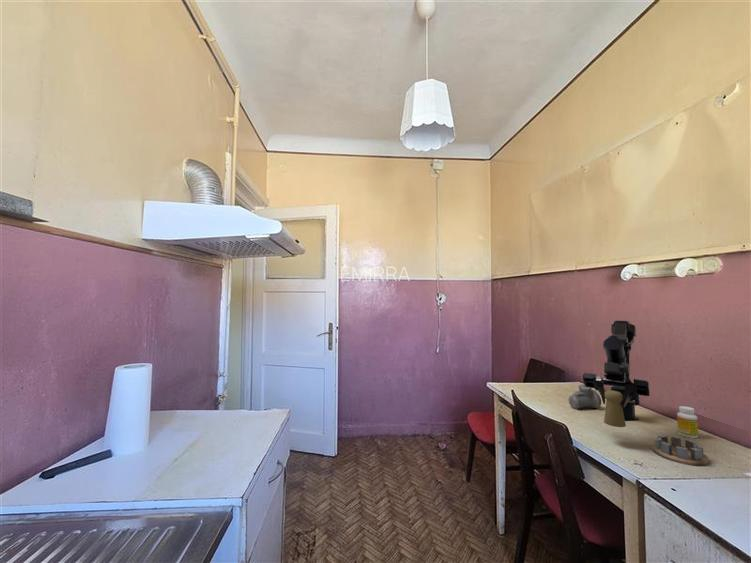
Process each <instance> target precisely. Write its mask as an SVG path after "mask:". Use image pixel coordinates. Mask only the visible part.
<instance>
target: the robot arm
mask: <svg viewBox="0 0 751 563" xmlns="http://www.w3.org/2000/svg"><path fill="white" fill-rule="evenodd" d="M610 326H611V328H610V331H611V332H610V333H611V335H608V336H607V338H606V339H605V340H603V343H602V344H603V345H602V346H603V350H604V353H605V355H606V362H604V363H603V364H604V365H603V366H604V367H603V369H604V372H603V376H604V378H602V377H601V376H597V374H596V373H591V372H584V373H583V374H582V380H583V384H584V385H585V386H586V387H590V388H592V389H594V390H595V391H598V394H599V396H600V398H601V402H602V403H603V405H606V398H605V396H604V394H605V392H606V390H605V387H604V386H609V387H610V390H613V391H618V392H620V393H621V394H622V395H623V400H622V402H621V404H622V409H623V414H624V419H625V421H636V420H637V421H638V420H639V417H636V409H635V407H636V406H640V405H641V404H640V396H645V397H649V396H651V395H650V394H651V393H650V382H649V381H648V380H646V379H639V378H633V381H632V380H631V350H632V349H633V344H634V342H635V337H637V328H636V325H634V324H632V323H630V321H629V320H628V321H627V320H614V321H613V323H612V324H611V325H610Z"/></svg>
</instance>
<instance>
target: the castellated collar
mask: <svg viewBox="0 0 751 563" xmlns="http://www.w3.org/2000/svg"><path fill="white" fill-rule="evenodd" d="M684 442H685V443H684V444H685V447H686V448H683V447H681V446H682V438H681V437H680V436H675V435H670V443H669V437H668V436H667V435H665V434H661V435H660V434H659V435H657V436H655V444H656V447H657V449H659V450H661V452H663V453H665V454H667V455H672V446H673V447H676V456H677V458H681V459H686V460H688V450H689V451H691V459H693V460H695V461H697V460H702V458H704V455H705V454H704V447H703V445H701V444H698V442H696V441H693V440H691V439H684Z"/></svg>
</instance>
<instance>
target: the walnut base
mask: <svg viewBox="0 0 751 563" xmlns="http://www.w3.org/2000/svg"><path fill="white" fill-rule="evenodd" d="M681 447H683V448H686V446H684V445H681ZM651 449H652V452H653V453H655V455H657V456H659V457H661V458H663V459H666V460H669V461H670V462H671V461H672V462H675V463H679V464H682V463H683V465H687V464H688V465H689V466H695V467H696V466H697V467H698V466H699V467H701V466H703V467H704V466H707V465H709V463H710V462H709V457H708V456H707V455H706V454H704V458H702V460H697V461H695V460H693V459H691V451H689V450H688V460H686V459H681V458H677V456H676V447H673V446H672V455H667V454H665V453H663V452H661V450H659V449H657V447H656V443H653V444H652V446H651Z"/></svg>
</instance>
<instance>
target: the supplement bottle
mask: <svg viewBox="0 0 751 563" xmlns="http://www.w3.org/2000/svg"><path fill="white" fill-rule="evenodd" d="M678 406H679V405H678ZM678 409H679V412H677V413H676V418H677V419H676V420H677V422H676V423H677V433H678V434H679V435H680V436H682V437H686V438H692V439H697V438H699V423H698V422H699V419H698V415H696V414H695V409H694V407H690V406H684V405H681V406H679V407H678Z"/></svg>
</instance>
